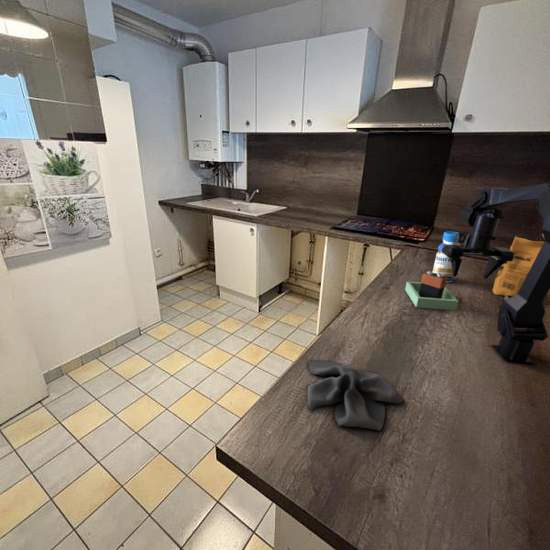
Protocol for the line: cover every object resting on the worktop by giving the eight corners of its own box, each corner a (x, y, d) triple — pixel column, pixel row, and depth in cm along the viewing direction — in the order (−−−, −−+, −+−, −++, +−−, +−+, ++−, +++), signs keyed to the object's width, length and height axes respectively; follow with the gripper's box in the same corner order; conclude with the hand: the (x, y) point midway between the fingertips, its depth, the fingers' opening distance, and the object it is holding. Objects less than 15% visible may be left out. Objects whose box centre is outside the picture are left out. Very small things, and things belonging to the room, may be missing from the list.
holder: (456, 310, 99) (458, 301, 97) (415, 307, 100) (418, 298, 99) (440, 292, 111) (442, 284, 110) (405, 289, 113) (406, 281, 112)
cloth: (408, 388, 65) (413, 367, 63) (381, 451, 51) (387, 426, 49) (320, 350, 77) (322, 330, 75) (279, 392, 63) (280, 370, 61)
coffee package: (493, 285, 118) (511, 233, 110) (532, 295, 110) (555, 239, 102) (489, 293, 111) (508, 238, 103) (530, 304, 104) (555, 245, 95)
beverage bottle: (457, 281, 121) (471, 235, 114) (443, 284, 118) (455, 236, 111) (440, 274, 129) (452, 230, 121) (426, 276, 126) (437, 231, 118)
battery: (436, 303, 102) (443, 277, 98) (417, 296, 106) (423, 271, 103) (441, 299, 105) (448, 274, 101) (422, 293, 109) (428, 268, 105)
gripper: (501, 226, 95) (487, 270, 101) (441, 223, 97) (430, 266, 103) (523, 234, 85) (505, 283, 91) (455, 231, 87) (442, 279, 93)
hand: (469, 277), depth 95 cm, fingers open, 9 cm apart
